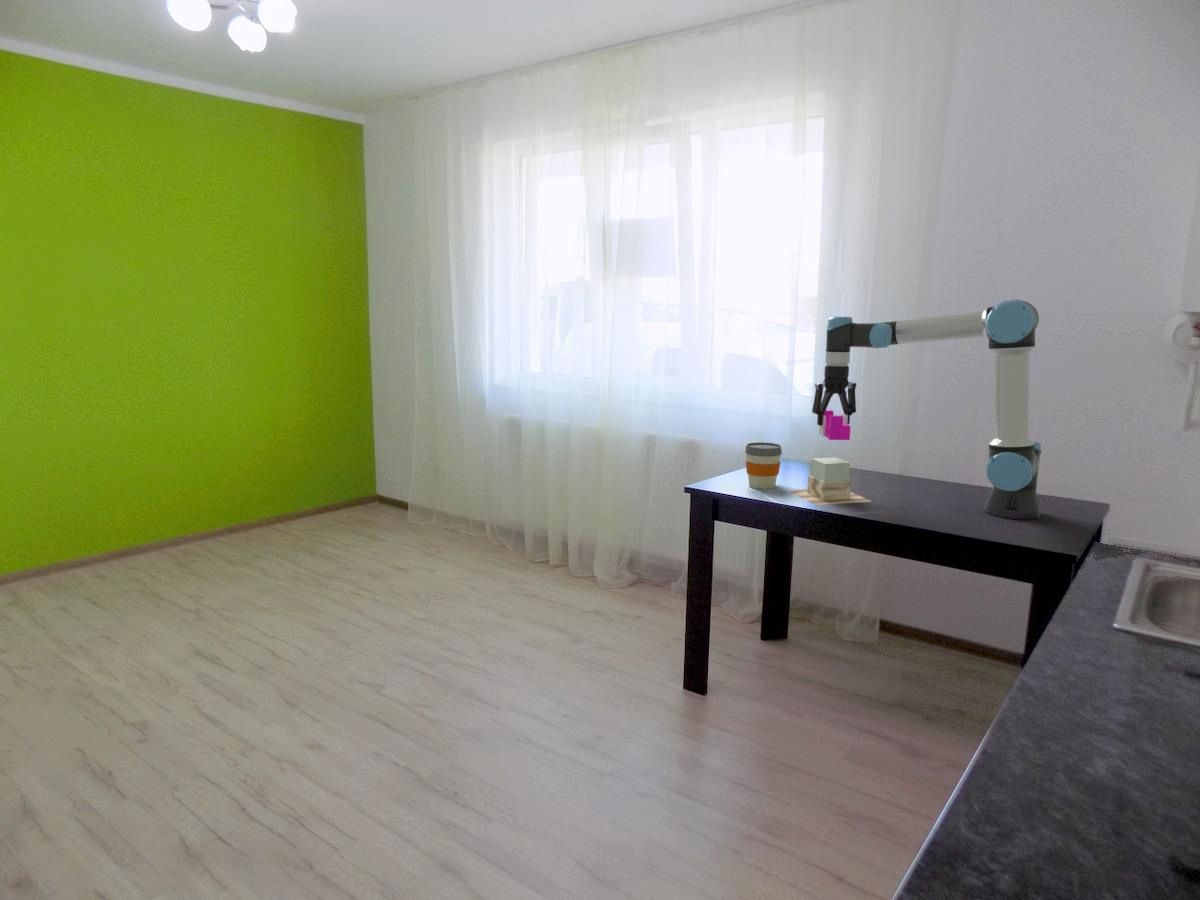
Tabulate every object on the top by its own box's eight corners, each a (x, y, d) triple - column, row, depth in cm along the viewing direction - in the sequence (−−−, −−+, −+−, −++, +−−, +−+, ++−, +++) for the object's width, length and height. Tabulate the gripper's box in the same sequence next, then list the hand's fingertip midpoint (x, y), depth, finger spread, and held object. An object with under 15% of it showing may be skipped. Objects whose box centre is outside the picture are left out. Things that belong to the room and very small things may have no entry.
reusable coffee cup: (762, 481, 275) (763, 441, 272) (787, 488, 265) (789, 446, 262) (736, 485, 268) (737, 444, 266) (761, 493, 258) (763, 450, 255)
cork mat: (872, 503, 245) (872, 501, 244) (816, 506, 240) (816, 505, 240) (839, 488, 264) (839, 487, 264) (786, 492, 259) (786, 490, 259)
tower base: (849, 498, 248) (851, 480, 247) (822, 500, 246) (823, 482, 245) (833, 491, 258) (834, 474, 257) (807, 493, 255) (808, 475, 254)
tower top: (848, 480, 247) (849, 462, 246) (824, 481, 245) (825, 464, 244) (834, 474, 256) (835, 457, 255) (810, 476, 254) (811, 458, 253)
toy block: (849, 440, 239) (851, 416, 238) (829, 439, 240) (831, 416, 238) (838, 432, 254) (839, 410, 252) (819, 432, 254) (820, 410, 253)
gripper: (858, 363, 249) (853, 431, 254) (803, 364, 245) (799, 433, 249) (871, 365, 242) (866, 435, 247) (814, 366, 238) (810, 437, 242)
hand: (832, 434), depth 248 cm, fingers closed on toy block, 7 cm apart
